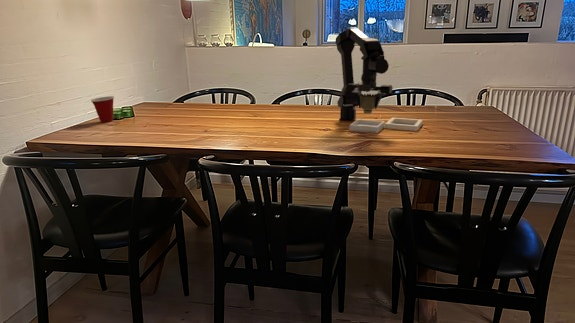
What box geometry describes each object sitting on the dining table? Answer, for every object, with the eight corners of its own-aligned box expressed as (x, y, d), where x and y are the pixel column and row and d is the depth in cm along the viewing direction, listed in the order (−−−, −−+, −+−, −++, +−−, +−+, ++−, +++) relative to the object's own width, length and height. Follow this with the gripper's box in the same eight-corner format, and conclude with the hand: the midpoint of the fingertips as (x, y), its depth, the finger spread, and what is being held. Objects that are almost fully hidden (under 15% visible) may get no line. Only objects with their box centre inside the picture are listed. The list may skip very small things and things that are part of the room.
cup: (376, 115, 165) (377, 96, 162) (358, 114, 166) (359, 95, 164) (376, 111, 172) (377, 93, 169) (359, 111, 173) (359, 93, 171)
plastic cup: (95, 120, 202) (91, 96, 198) (118, 118, 205) (114, 95, 201) (93, 124, 192) (88, 100, 188) (116, 122, 195) (113, 98, 192)
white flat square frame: (384, 128, 172) (384, 123, 171) (391, 121, 183) (392, 117, 182) (417, 130, 166) (417, 126, 165) (422, 124, 177) (422, 119, 176)
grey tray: (349, 130, 169) (349, 124, 168) (357, 124, 179) (358, 119, 178) (377, 133, 164) (377, 127, 163) (384, 126, 174) (384, 121, 173)
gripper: (341, 72, 161) (340, 110, 166) (387, 74, 153) (385, 113, 158) (350, 70, 170) (349, 105, 175) (393, 71, 162) (391, 108, 167)
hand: (367, 108), depth 169 cm, fingers closed on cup, 6 cm apart
